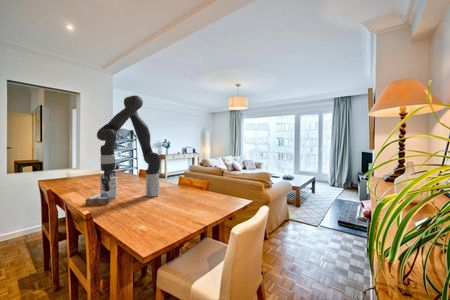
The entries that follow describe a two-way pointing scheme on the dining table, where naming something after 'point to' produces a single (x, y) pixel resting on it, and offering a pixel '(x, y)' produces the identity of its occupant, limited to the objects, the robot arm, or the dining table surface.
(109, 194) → the ink box
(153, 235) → the dining table surface
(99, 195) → the base
